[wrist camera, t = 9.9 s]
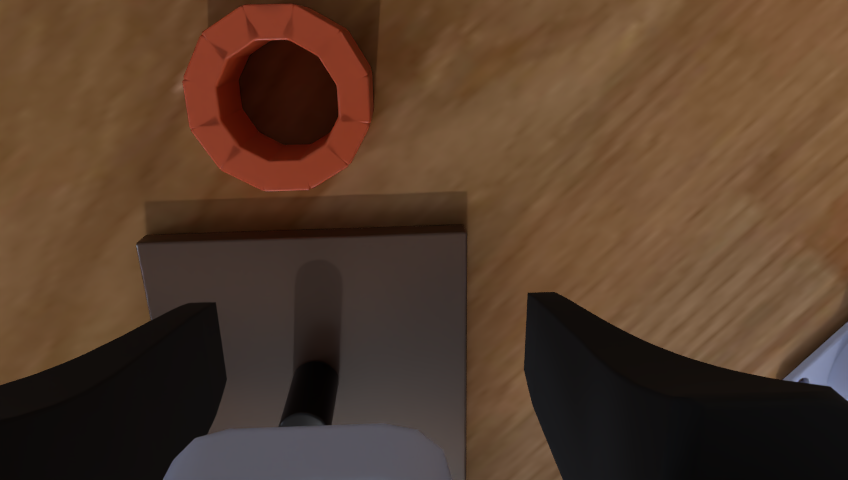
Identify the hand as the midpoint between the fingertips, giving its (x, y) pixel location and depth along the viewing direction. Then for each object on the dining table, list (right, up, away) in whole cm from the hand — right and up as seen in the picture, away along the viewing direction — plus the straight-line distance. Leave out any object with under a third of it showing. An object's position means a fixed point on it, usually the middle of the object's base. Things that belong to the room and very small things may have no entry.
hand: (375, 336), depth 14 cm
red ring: (-3, +7, +7) cm, 11 cm away
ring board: (-3, -9, +13) cm, 16 cm away
